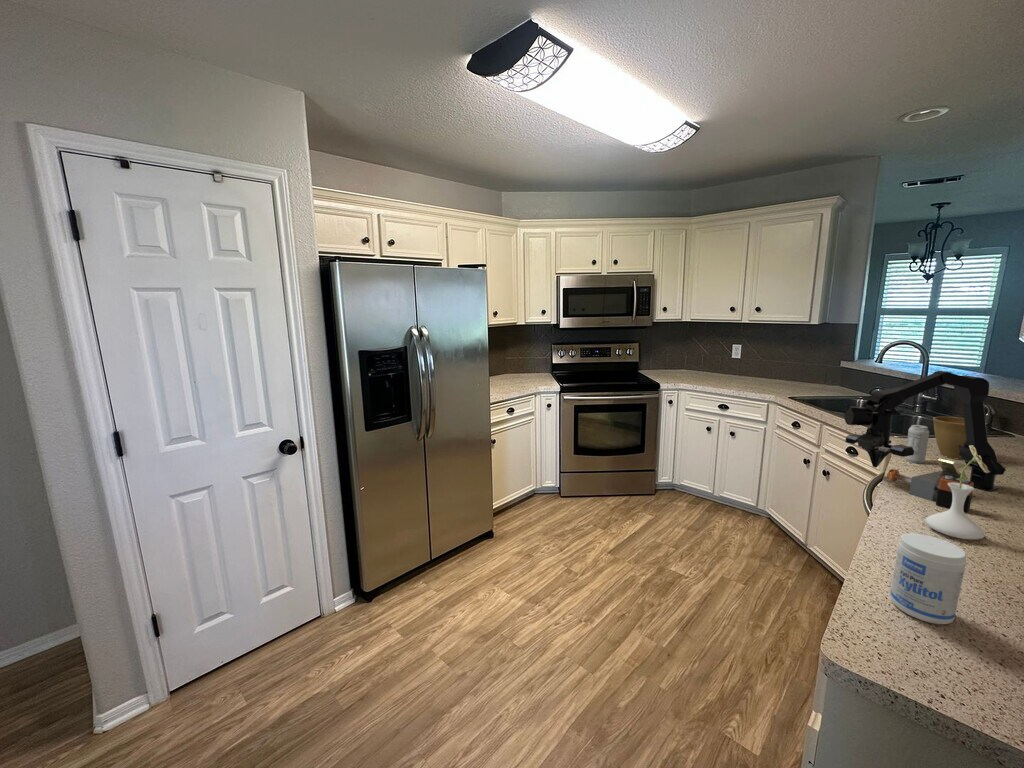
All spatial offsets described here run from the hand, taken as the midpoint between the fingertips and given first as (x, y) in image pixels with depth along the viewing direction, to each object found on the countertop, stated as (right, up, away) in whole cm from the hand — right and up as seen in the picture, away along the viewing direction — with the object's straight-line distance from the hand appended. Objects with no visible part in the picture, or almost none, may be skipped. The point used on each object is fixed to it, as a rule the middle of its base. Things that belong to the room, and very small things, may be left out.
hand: (875, 467), depth 152 cm
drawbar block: (+10, -7, -12) cm, 17 cm away
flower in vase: (-10, -11, -37) cm, 40 cm away
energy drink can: (+33, -2, +19) cm, 38 cm away
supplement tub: (-49, -16, -67) cm, 84 cm away
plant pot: (+54, -1, +24) cm, 59 cm away
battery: (+5, -9, -22) cm, 24 cm away
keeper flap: (+14, +2, -12) cm, 19 cm away
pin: (+4, -5, -11) cm, 13 cm away
